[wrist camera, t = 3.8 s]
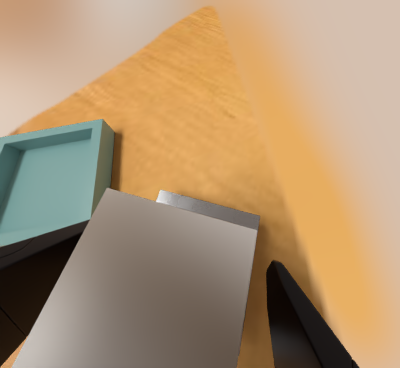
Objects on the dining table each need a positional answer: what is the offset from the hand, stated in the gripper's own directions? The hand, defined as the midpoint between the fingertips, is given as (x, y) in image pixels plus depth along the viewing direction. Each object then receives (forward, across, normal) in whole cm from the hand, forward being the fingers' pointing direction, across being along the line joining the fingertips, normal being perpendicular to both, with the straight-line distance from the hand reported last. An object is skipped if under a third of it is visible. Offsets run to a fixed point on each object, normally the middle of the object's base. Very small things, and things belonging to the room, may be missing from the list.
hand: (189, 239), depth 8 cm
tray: (+6, +19, +4) cm, 21 cm away
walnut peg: (+4, 0, +6) cm, 7 cm away
